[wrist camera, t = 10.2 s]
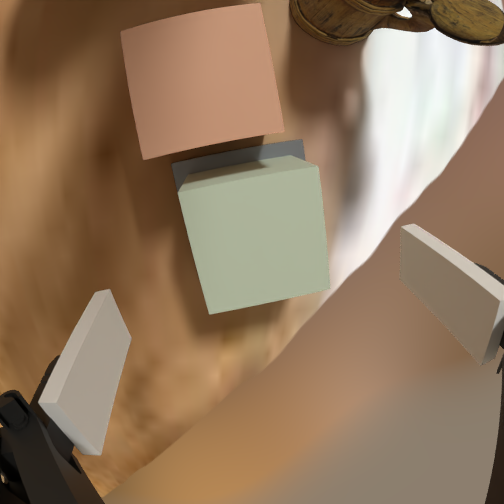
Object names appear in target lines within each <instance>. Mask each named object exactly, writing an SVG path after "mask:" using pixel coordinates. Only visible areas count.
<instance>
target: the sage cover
mask: <svg viewBox="0 0 504 504" xmlns="http://www.w3.org/2000/svg"><path fill="white" fill-rule="evenodd" d="M178 196H179V200H180V205H181V209H182V213H183V217H184V221H185V225H186V229H187V233H188V237H189V241H190V245H191V249H192V253H193V257H194V261H195V264H196V268H197V272H198V276H199V279H200V283H201V287H202V290H203V294H204V298H205V301H206V305H207V308H208V312H209V314H215V313H220V312H225V311H230V310H235V309H240V308H245V307H250V306H255V305H260V304H265V303H270V302H274V301H279V300H284V299H288V298H293V297H297V296H302V295H306V294H311V293H315V292H319V291H324V290H328V289H330V278H329V264H328V252H327V240H326V230H325V220H324V210H323V201H322V192H321V183H320V175H319V167H318V166H317V165H314V164H312V163H309V162H307V161H304V160H302V159H299V158H297V157H294V156H292V155H288V156H282V157H276V158H270V159H264V160H259V161H253V162H247V163H242V164H237V165H232V166H227V167H222V168H217V169H212V170H207V171H202V172H198V173H193V174H188V176H187V177H186V179H185V181H184V183H183V184H182V186H181V188H180V190H179V191H178Z"/></svg>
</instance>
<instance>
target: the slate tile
mask: <svg viewBox="0 0 504 504" xmlns="http://www.w3.org/2000/svg"><path fill="white" fill-rule="evenodd" d="M288 155H292V156H294V157H297V158H299V159H302V160H304V161H305V154H304V147H303V140H302V139H299V140H292V141H285V142H278V143H272V144H266V145H260V146H254V147H248V148H243V149H237V150H232V151H227V152H222V153H217V154H212V155H207V156H202V157H198V158H193V159H189V160H184V161H180V162H176V163H172V164H171V165H172V170H173V174H174V179H175V183H176V188H177V192H178V191H179V190H180V188H181V186H182V184H183V183H184V181H185V179H186V177H187V176H188V174H193V173H198V172H202V171H207V170H212V169H217V168H222V167H227V166H232V165H237V164H242V163H247V162H253V161H259V160H264V159H270V158H276V157H282V156H288Z"/></svg>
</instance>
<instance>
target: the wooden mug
mask: <svg viewBox="0 0 504 504" xmlns="http://www.w3.org/2000/svg"><path fill="white" fill-rule="evenodd" d="M404 6H405V7H406V8H407V9H408V10H409V11H410V13H411V14H412V17H411V18H408V17H403V16H401V15H399V14H397V13H396V12H399V11H401V10H403V8H404ZM290 8H291V12H292V15H293V17H294V19H295V21H296V23H297V24H298V25H299V26H300V27H301V28H302V29H303V30H304V31H305V32H307V33H308V34H310V35H311V36H313V37H314V38H316V39H318V40H321V41H323V42H326V43H330V44H333V45H350V44H353V43H356V42H359V41H361V40H363V39H365V38H367V37H368V36H369V35H370V34H371V33H372V31H373V30H374V29H379V28H391V29H397V30H403V31H410V32H427V31H429V30H431V29H433V28H436V29H437V30H438V31H439V32H441V33H443V34H444V35H446V36H448V37H450V38H452V39H454V40H457V41H460V42H463V43H467V44H470V45H480V46H494V45H500V44H503V43H504V13H503V11H502V10H501V9H500V8H499V7H498V6H496V5H495V4H493V3H492V2H490V1H488V0H290Z"/></svg>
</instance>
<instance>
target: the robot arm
mask: <svg viewBox="0 0 504 504" xmlns="http://www.w3.org/2000/svg"><path fill="white" fill-rule="evenodd" d="M400 280H401V281H402V282H403V283H404V284H405V285H406V286H407V287H408V288H409V289H410V290H411V291H412V292H413V293H414V294H415V295H416V296H417V297H418V299H419V300H421V302H423V304H424V305H425V306H426V307H427V308H428V309H429V310H430V311H431V312H432V313H433V314H434V315H435V316H436V317H437V318H438V319H439V320H440V321H441V322H442V324H443V325H444V326H445V327H446V328H447V329H448V330H449V331H450V332H451V333H452V334H453V335H454V337H455V338H456V339H457V340H458V341H459V342H460V343H461V344H462V345H463V347H464V348H465V349H466V350H467V351H468V352H469V353H470V354H471V355H472V357H473V358H474V359H475V360H476V361H477V362H478V364H479V365H480V366H481V365H483V364H485V363H487V362H489V361H491V360H492V359H494V358H495V357H496V354H497V351H498V348H499V345H500V346H501V347H502V348H503V349H504V280H503V279H501V278H500V277H498V275H496V274H495V275H494V273H493V272H492V271H491V270H489V269H488V268H486V267H484V266H482V265H479V264H477V263H473V262H471V261H470V260H468V259H466V258H465V257H464V256H462V255H461V254H460V253H458V252H457V251H455V250H454V249H452V248H451V247H449V246H448V245H446V244H445V243H443V242H442V241H440V240H439V239H437V238H436V237H434V236H433V235H431V234H430V233H428V232H427V231H425V230H423V229H422V228H420V227H419V226H417V225H416V224H411V225H406V226H402V227H401V253H400ZM131 339H132V338H131V336H130V334H129V331H128V329H127V327H126V325H125V323H124V321H123V318H122V316H121V314H120V312H119V309H118V307H117V305H116V302H115V300H114V298H113V295H112V293H111V290H110V289H107V290H102V291H97V292H95V293H94V295H93V297H92V298H91V300H90V302H89V304H88V305H87V307H86V309H85V311H84V312H83V314H82V316H81V318H80V320H79V321H78V323H77V325H76V327H75V329H74V331H73V332H72V334H71V336H70V338H69V340H68V342H67V344H66V346H65V348H64V349H63V351H62V353H61V355H58V356H57V357H56V358H55V359H54V360H53V361H52V362H51V363H50V364H49V366H48V368H47V370H46V372H45V376H43V378H42V380H41V383H40V384H39V386H38V388H37V390H36V392H35V394H34V396H33V399H32V401H31V403H30V405H29V404H28V403H27V402H26V400H25V399H24V398H23V396H22V395H21V394H20V392H19V391H16V390H10V391H7V392H5V393H3V394H2V395H1V396H0V423H1V425H2V426H3V427H1V428H0V504H105V503H104V502H103V500H102V499H101V497H100V496H99V494H98V493H97V491H96V490H95V488H94V486H93V485H92V483H91V482H90V480H89V478H88V477H87V475H86V474H85V472H84V470H83V469H82V467H81V465H80V463H79V462H78V460H77V458H76V457H75V456H74V455H73V454H72V451H73V447H74V446H75V447H76V448H77V449H78V450H79V451H80V452H81V453H82V454H83V455H101V454H102V449H103V445H104V440H105V436H106V432H107V427H108V423H109V419H110V415H111V411H112V407H113V403H114V399H115V395H116V392H117V388H118V384H119V381H120V377H121V373H122V370H123V366H124V363H125V359H126V356H127V353H128V349H129V346H130V342H131ZM501 368H502V394H501V410H500V422H499V430H498V438H497V445H496V452H495V459H494V464H493V469H492V475H491V479H490V484H489V489H488V493H487V497H486V501H485V504H504V354H503V357H502V359H501V362H500V364H499V367H498V369H497V373H498V374H499V372H500V370H501ZM1 475H3V476H4V481H5V482H4V483H3V482H2V479H1Z"/></svg>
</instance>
